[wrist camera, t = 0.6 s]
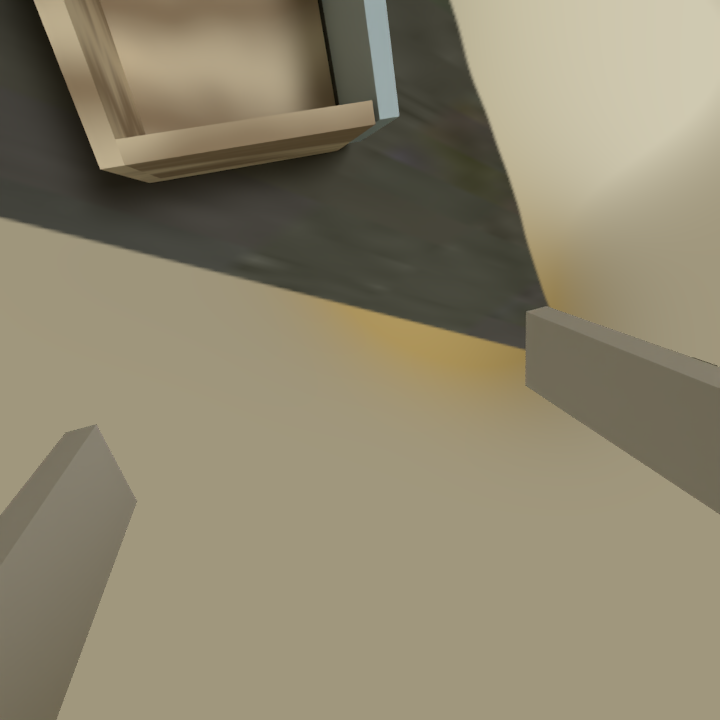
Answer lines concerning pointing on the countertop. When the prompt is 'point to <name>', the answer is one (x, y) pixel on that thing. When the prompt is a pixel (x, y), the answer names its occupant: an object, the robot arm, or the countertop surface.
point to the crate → (199, 83)
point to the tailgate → (362, 57)
